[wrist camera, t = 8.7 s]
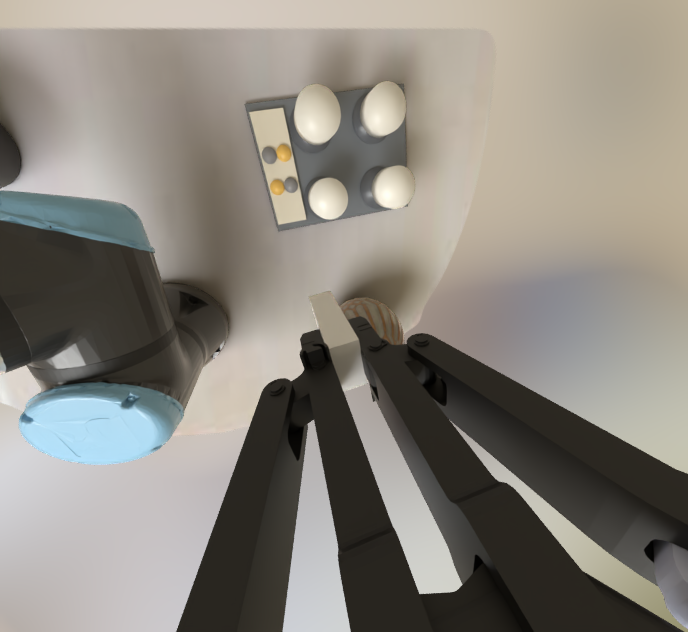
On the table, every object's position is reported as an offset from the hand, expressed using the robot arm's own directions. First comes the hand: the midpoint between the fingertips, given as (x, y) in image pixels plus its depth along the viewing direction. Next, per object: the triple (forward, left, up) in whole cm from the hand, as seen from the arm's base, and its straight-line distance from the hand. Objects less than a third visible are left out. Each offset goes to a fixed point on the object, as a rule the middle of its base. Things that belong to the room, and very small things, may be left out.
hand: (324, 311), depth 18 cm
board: (+8, +10, -28) cm, 31 cm away
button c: (+14, +6, -25) cm, 29 cm away
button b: (+5, +15, -25) cm, 29 cm away
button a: (+5, +6, -27) cm, 28 cm away
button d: (+14, +15, -27) cm, 34 cm away
